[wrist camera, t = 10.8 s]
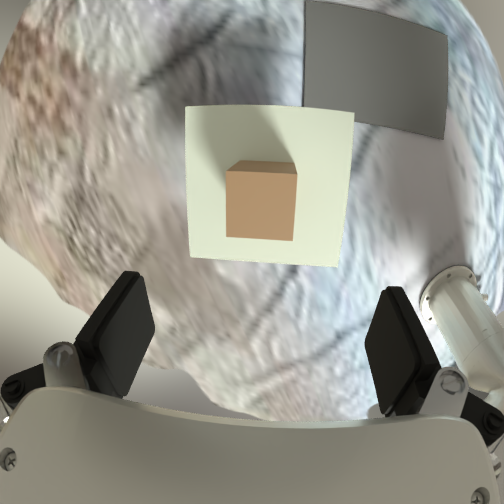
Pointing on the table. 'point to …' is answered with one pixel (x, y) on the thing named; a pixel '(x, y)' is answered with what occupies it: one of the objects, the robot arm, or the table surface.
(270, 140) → the lid
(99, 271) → the table surface
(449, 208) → the table surface
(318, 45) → the mat
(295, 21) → the table surface
